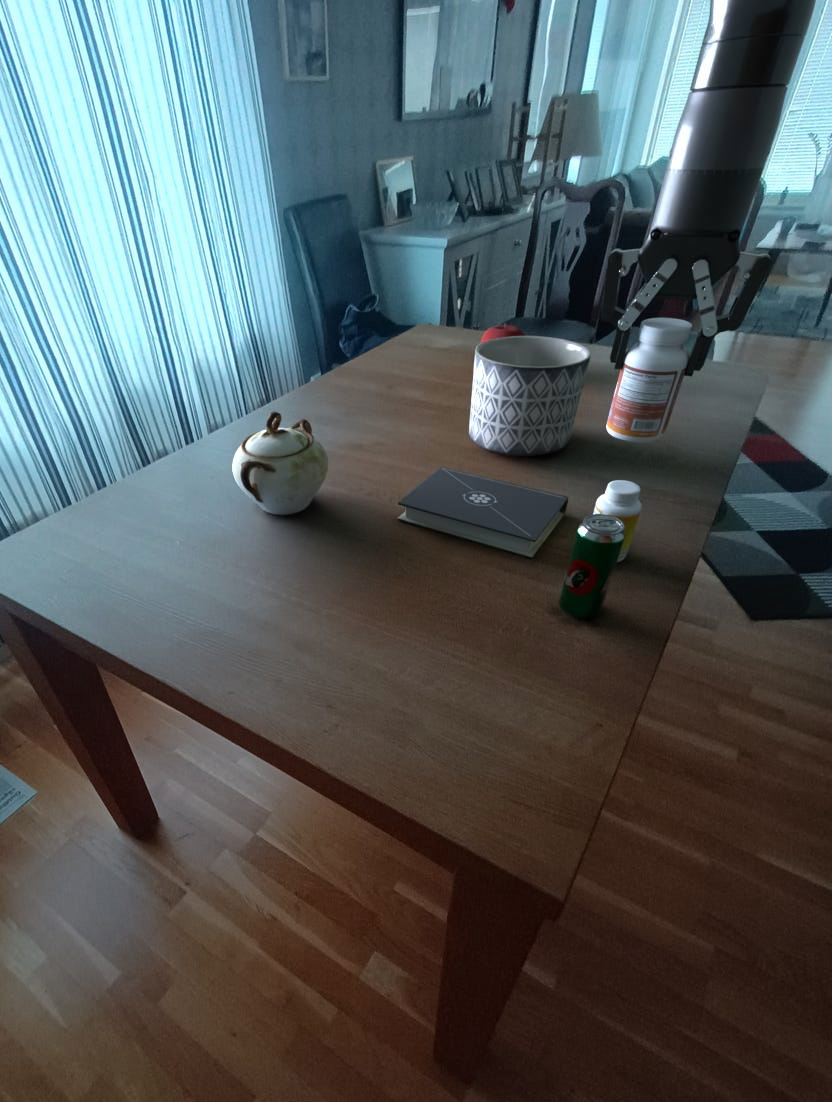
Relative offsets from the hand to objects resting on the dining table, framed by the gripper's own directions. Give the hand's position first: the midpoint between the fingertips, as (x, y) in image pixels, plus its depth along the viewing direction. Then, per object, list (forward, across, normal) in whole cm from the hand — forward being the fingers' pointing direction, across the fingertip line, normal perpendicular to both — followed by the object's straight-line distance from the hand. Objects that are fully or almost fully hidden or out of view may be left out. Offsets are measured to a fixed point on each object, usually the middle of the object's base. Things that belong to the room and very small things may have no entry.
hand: (652, 370), depth 60 cm
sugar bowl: (+26, -49, +3) cm, 55 cm away
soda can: (+26, 0, -8) cm, 27 cm away
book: (+26, -18, +10) cm, 33 cm away
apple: (+26, -31, +78) cm, 88 cm away
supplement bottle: (+26, +1, +5) cm, 26 cm away
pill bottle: (+7, 0, 0) cm, 7 cm away
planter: (+26, -18, +39) cm, 51 cm away
